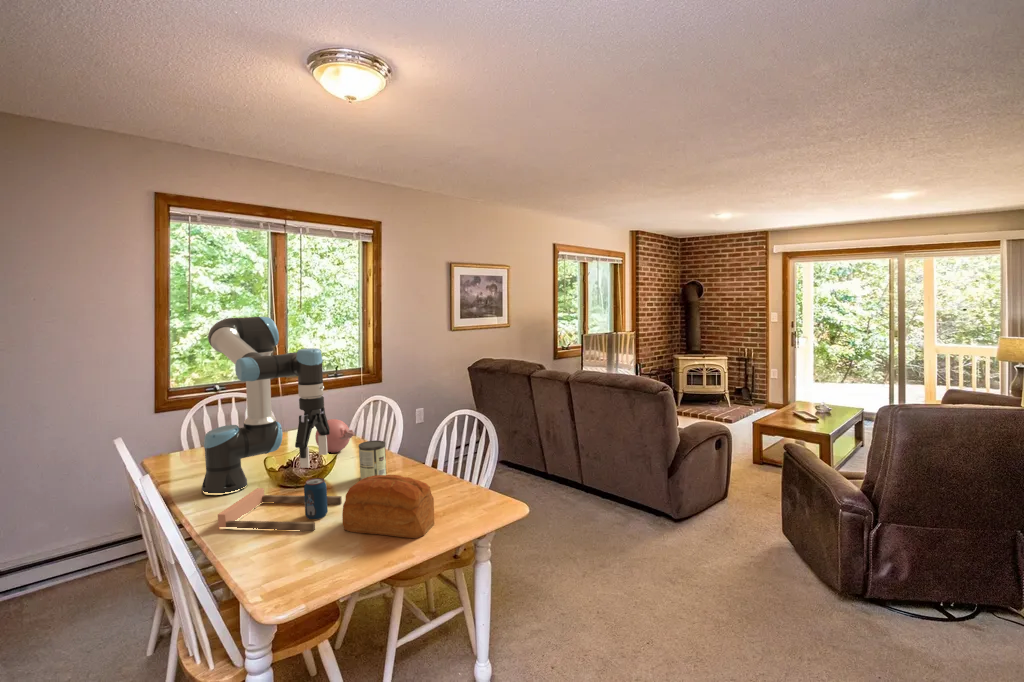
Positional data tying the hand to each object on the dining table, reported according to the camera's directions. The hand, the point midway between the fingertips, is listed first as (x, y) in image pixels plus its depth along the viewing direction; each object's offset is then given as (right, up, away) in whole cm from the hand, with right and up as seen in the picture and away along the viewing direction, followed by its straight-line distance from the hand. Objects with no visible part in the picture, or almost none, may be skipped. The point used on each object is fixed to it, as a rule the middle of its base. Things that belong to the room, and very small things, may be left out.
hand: (314, 460), depth 172 cm
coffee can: (+10, -16, +37) cm, 41 cm away
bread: (+26, -19, -7) cm, 33 cm away
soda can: (0, -19, +2) cm, 19 cm away
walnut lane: (-10, -19, +2) cm, 21 cm away
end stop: (-25, -19, +3) cm, 31 cm away
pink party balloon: (-17, -13, +73) cm, 76 cm away
